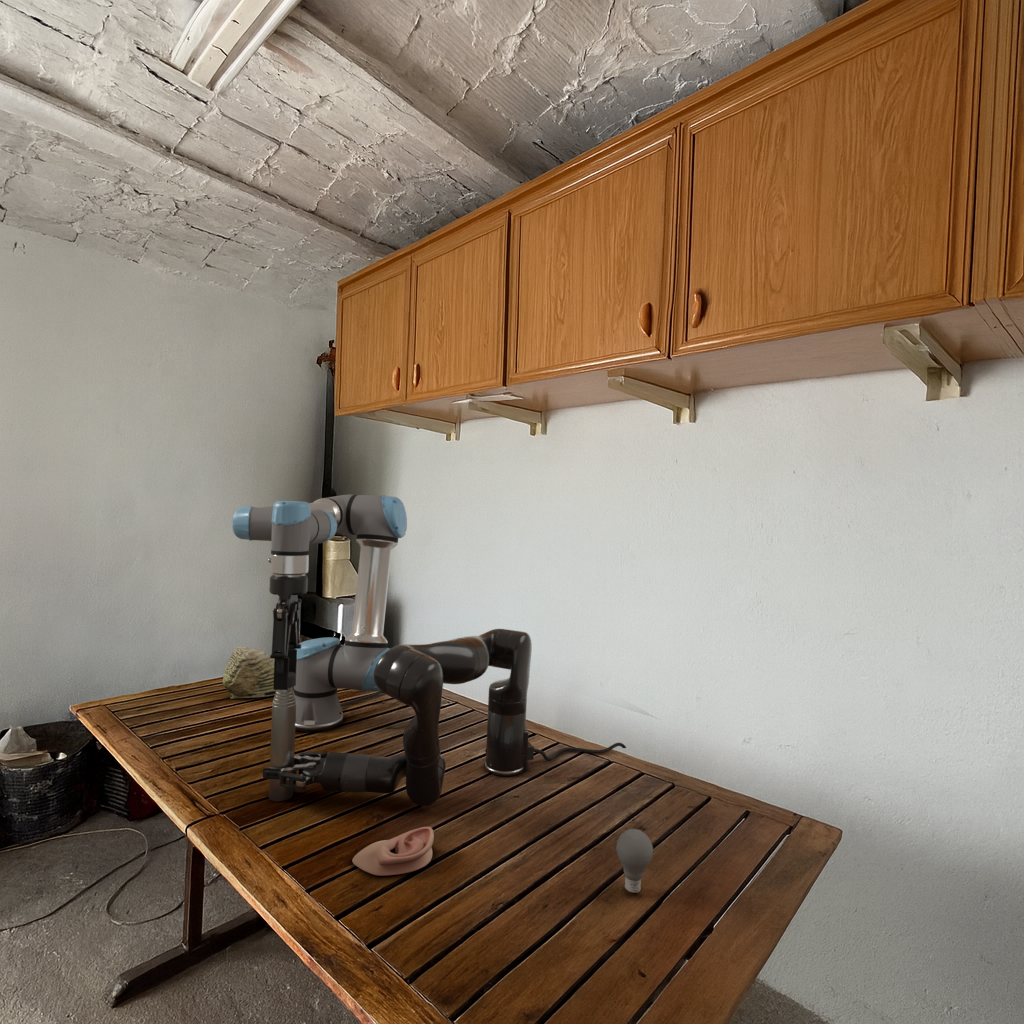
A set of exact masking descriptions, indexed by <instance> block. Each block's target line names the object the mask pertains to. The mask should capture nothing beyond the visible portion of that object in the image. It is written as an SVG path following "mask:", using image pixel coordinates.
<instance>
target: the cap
mask: <svg viewBox="0 0 1024 1024" xmlns="http://www.w3.org/2000/svg"><path fill="white" fill-rule="evenodd" d="M294 686H296V673H294V672H289V675H288V688H291V687H293V688H294Z"/></svg>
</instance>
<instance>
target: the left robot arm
mask: <svg viewBox="0 0 1024 1024" xmlns="http://www.w3.org/2000/svg"><path fill="white" fill-rule="evenodd" d="M231 521H232V523H231V524H232V526H231V528H232V531H233V534H234V535H235V537H236V538H238V539H240V540H247V541H260V542H261V541H263V542H266V541H267V542H271V543H270V544H271V545H270V547H271V548H270V549H271V550H270V557H269V558H268V559H267V562H268V563H269V564H270V568H269V569H270V570H269V571H270V573H271V574H272V575H271V576H269V589H268V590H269V593H270V594H271V595H273V596H278V602H276V604H275V608H273V610H272V615H273V616H272V617H273V618H272V621H273V624H272V639H271V640H272V641H271V642H272V643H271V654H270V655H269V658H271V659H273V661H274V687H273V690H287V689H288V675H289V672H294V673H296V686H294V687H293V690H294V693H295V699H296V727H295V732H301V733H316V732H325V731H329V730H332V729H335V728H337V727H339V726H340V725H342V723H343V722H344V713H343V709H342V707H346V706H350V705H353V704H356V703H359V702H362V701H364V700H365V701H366V700H368V699H371V698H374V697H375V698H376V697H378V696H379V695H381V694H382V693H383V692H382V691H381V690H380V689H379V688H378V687H377V685H376V683H375V681H374V669H375V666H376V664H377V662H378V660H379V659H380V658H381V656H382V655H383V654H384V653H385V652H387V651H388V650H389V649H390V648H389V647H388V644H389V643H388V640H387V638H386V637H385V636H384V631H385V620H386V619H385V618H386V609H387V599H388V589H389V578H390V570H391V562H392V561H391V560H392V553H393V552H392V551H393V550H394V548H395V547H397V546H398V545H399V539H402V538H403V537H405V536H406V532H407V530H408V518H407V511H406V507H405V505H404V502H403V501H402V500H401V499H400V497H399V498H398V497H397V496H391V495H383V494H382V495H377V494H376V495H375V494H350V493H349V494H341V495H335V496H329V497H321V498H318V499H316V500H314V501H313V502H307V501H299V500H297V501H296V500H277V501H275V502H274V503H273V505H272V506H264V507H263V506H261V507H259V506H258V507H256V506H255V507H254V506H242V507H239V508H238V509H236V511H235V512H234V514H233V516H232V520H231ZM336 534H342V535H351V536H356V539H355V542H356V543H357V544H358V545H359V546H360V547H359V548H360V552H359V561H358V571H357V580H356V587H355V597H354V607H353V614H352V615H353V617H352V623H351V624H352V625H351V633H350V634H349V635H348V636H347V637H346V638H344V644H341V641H340V639H339V638H338V637H334V636H331V637H330V636H329V637H318V638H313V639H307V640H304V641H302V642H301V608H302V603H303V602H302V599H301V598H298V596H301V595H305V594H307V592H308V587H309V586H308V585H309V577H308V575H307V574H309V566H310V565H309V564H310V563H309V560H310V559H309V558H310V553H309V552H310V545H313V544H318V545H319V544H323V543H326V542H329V541H331V540H332V539H333V538H334V537H335V535H336ZM338 689H342V690H343V689H344V690H351V691H353V690H354V691H362V692H365V693H366V692H374V693H371V694H368V695H364V696H361V697H359V698H355V699H352V700H348V701H345V702H342V703H341V702H340V699H339V695H338Z"/></svg>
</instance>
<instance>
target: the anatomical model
mask: <svg viewBox="0 0 1024 1024" xmlns="http://www.w3.org/2000/svg"><path fill="white" fill-rule="evenodd" d="M434 839H435V833H434V829H433V828H432V827H431V826H423V827H419V828H415V829H411V830H408V831H406V832H404V833H401V834H399V835H397V836H394V837H392V838H390V839H384V840H379V841H375V842H373V843H371V844H369V845H367V846H365V847H364V848H362V849H360V850H359V851H358V852H357V853H356V854H355V855H354V856H353V857H352V860H351V861H352V864H353V865H354V866H356V867H357V868H358V869H360V870H362V871H363V872H366V873H368V874H370V875H373V876H379V877H382V876H385V877H386V876H394V875H401V874H402V875H403V874H407V873H412V872H414V871H418V870H419V869H422V868H424V867H426V866H428V864H429V863H430V862H431V861H432V859H433V848H432V847H433V843H434Z"/></svg>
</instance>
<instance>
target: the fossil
mask: <svg viewBox="0 0 1024 1024" xmlns="http://www.w3.org/2000/svg"><path fill="white" fill-rule="evenodd" d="M222 676H223V677H222V685H223V687H224V688H225V690H226V691H228V693H229V698H230V699H250V698H264V697H271V696H275V694H276V691H277V690H273V687H274V659H273V658H270V655H268V654H267V653H266V652H265V650H264V649H263V648H260V647H258V648H251V647H247V646H246V647H245V646H238V647H237V648H236V649H235V650H233V651H232V653H231V656H230V657H229V659H228V660H227V663H226V666H225V668H224V671H223V675H222Z"/></svg>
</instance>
